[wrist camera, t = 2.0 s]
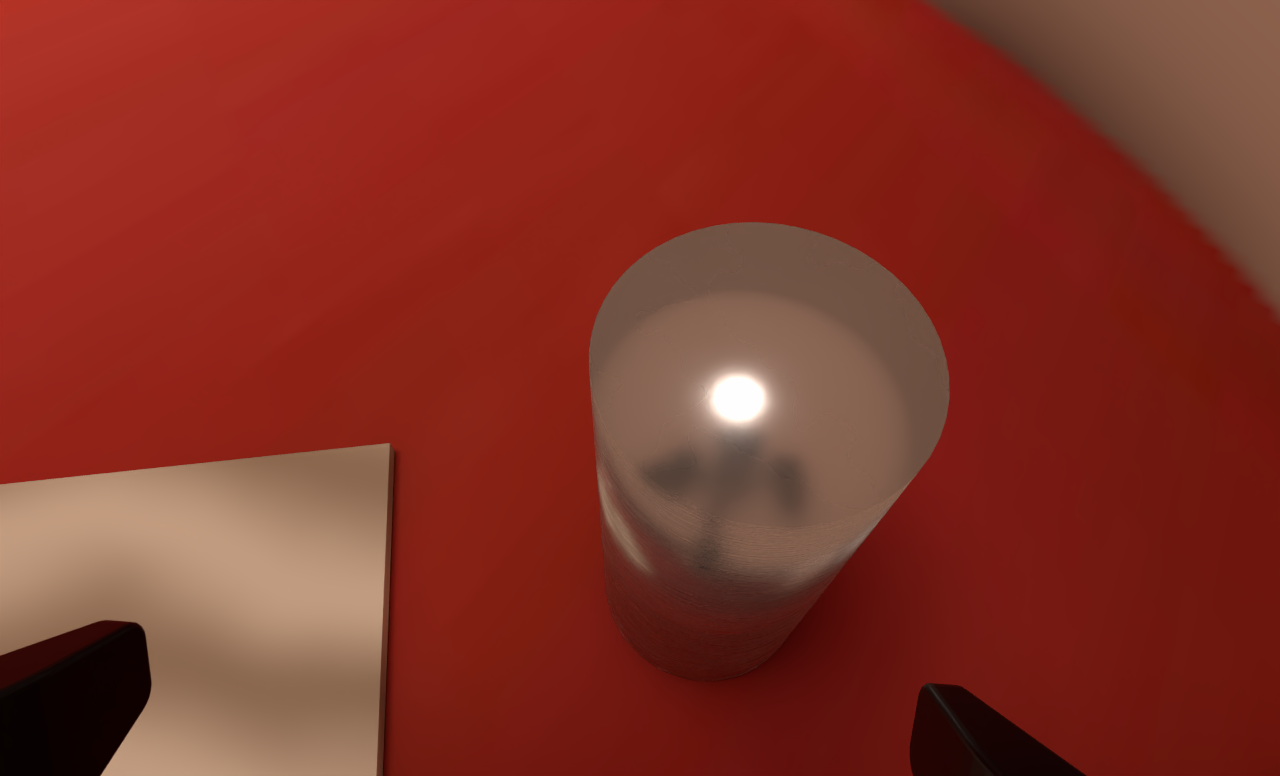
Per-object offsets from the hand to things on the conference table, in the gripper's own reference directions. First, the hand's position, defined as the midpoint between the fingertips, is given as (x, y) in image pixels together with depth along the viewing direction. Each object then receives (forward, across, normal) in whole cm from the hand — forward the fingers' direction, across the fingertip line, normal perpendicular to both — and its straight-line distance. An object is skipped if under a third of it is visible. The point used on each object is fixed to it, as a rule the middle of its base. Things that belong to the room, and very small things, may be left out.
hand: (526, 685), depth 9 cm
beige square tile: (+11, +12, +9) cm, 19 cm away
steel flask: (+14, -3, +6) cm, 15 cm away
